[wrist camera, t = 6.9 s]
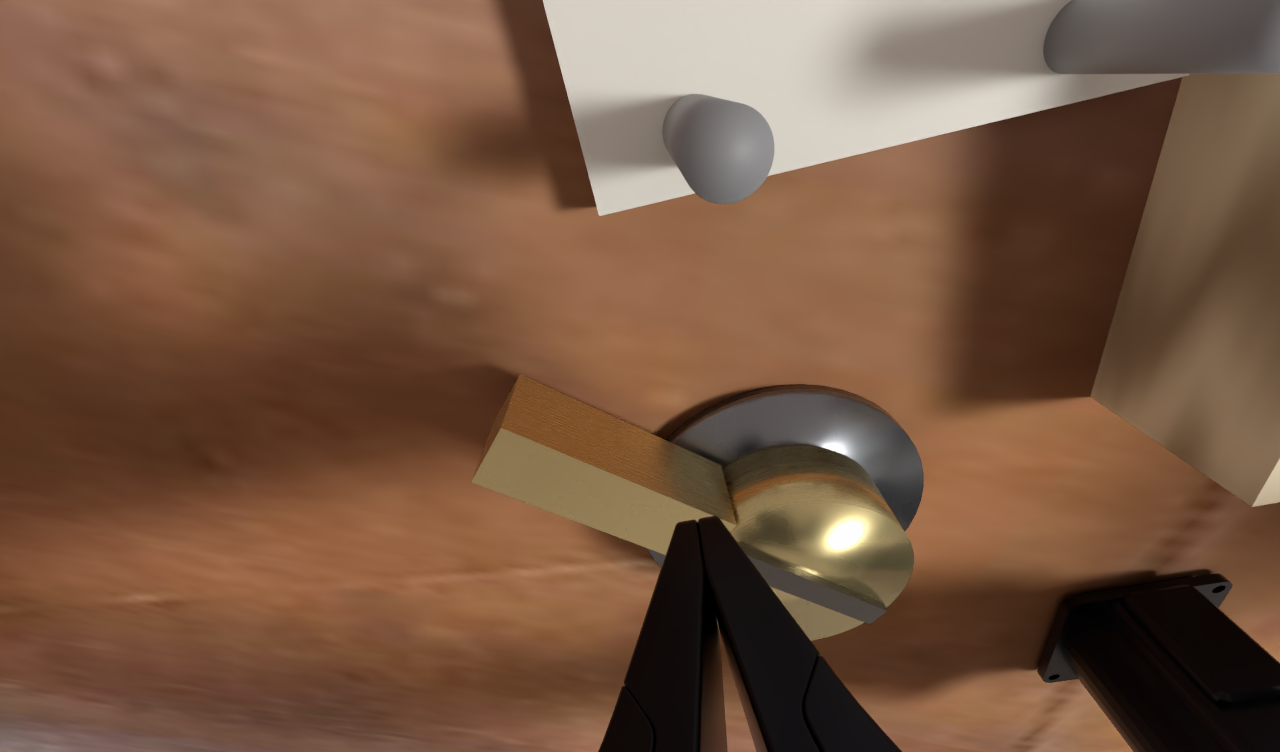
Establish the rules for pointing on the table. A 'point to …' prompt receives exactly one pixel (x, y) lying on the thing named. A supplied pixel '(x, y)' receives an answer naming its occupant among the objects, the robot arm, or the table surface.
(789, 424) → the base
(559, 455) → the brass lever handle
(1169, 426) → the beech bar
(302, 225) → the table surface
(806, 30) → the peg rack
